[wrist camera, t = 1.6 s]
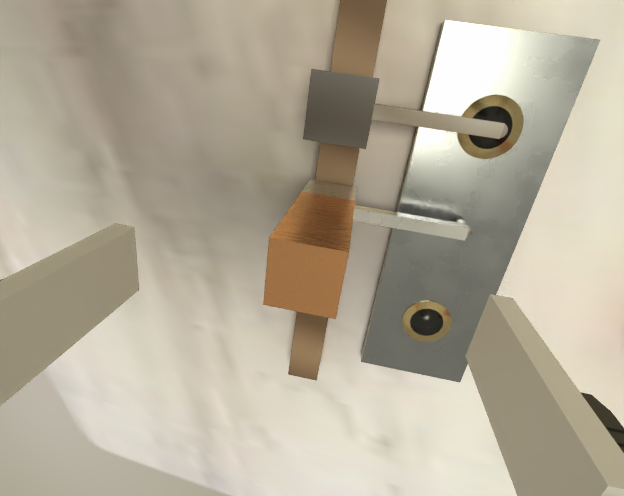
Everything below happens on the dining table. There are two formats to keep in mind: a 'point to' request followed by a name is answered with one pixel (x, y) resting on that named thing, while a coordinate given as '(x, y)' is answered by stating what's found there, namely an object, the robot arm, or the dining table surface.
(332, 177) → the gauge rail
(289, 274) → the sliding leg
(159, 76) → the dining table surface
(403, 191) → the bolt plate
